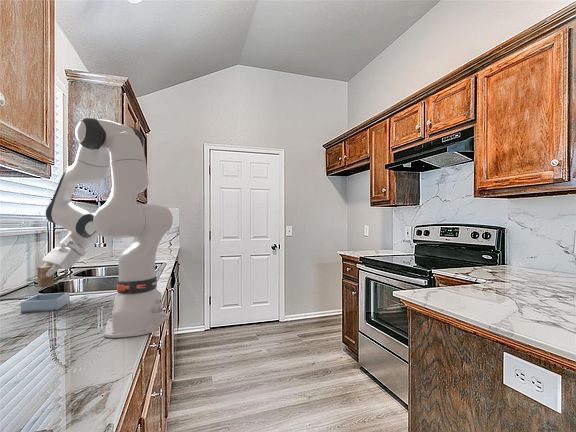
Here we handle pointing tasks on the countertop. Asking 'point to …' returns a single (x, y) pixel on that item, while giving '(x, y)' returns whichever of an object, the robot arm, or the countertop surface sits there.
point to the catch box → (45, 302)
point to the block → (44, 277)
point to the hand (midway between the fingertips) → (43, 274)
